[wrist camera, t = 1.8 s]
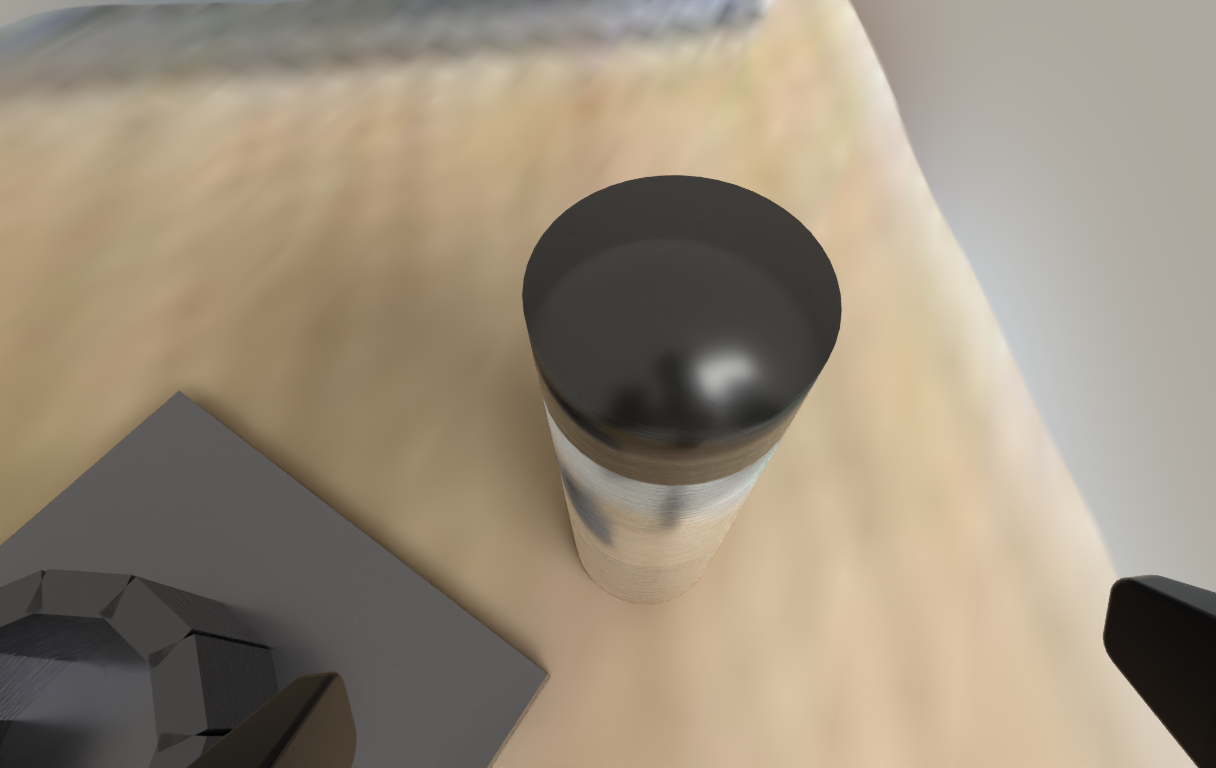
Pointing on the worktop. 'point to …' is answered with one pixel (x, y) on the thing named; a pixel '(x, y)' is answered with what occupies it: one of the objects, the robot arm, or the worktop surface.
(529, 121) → the worktop surface
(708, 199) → the black capped shaker
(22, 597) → the firebox collar
